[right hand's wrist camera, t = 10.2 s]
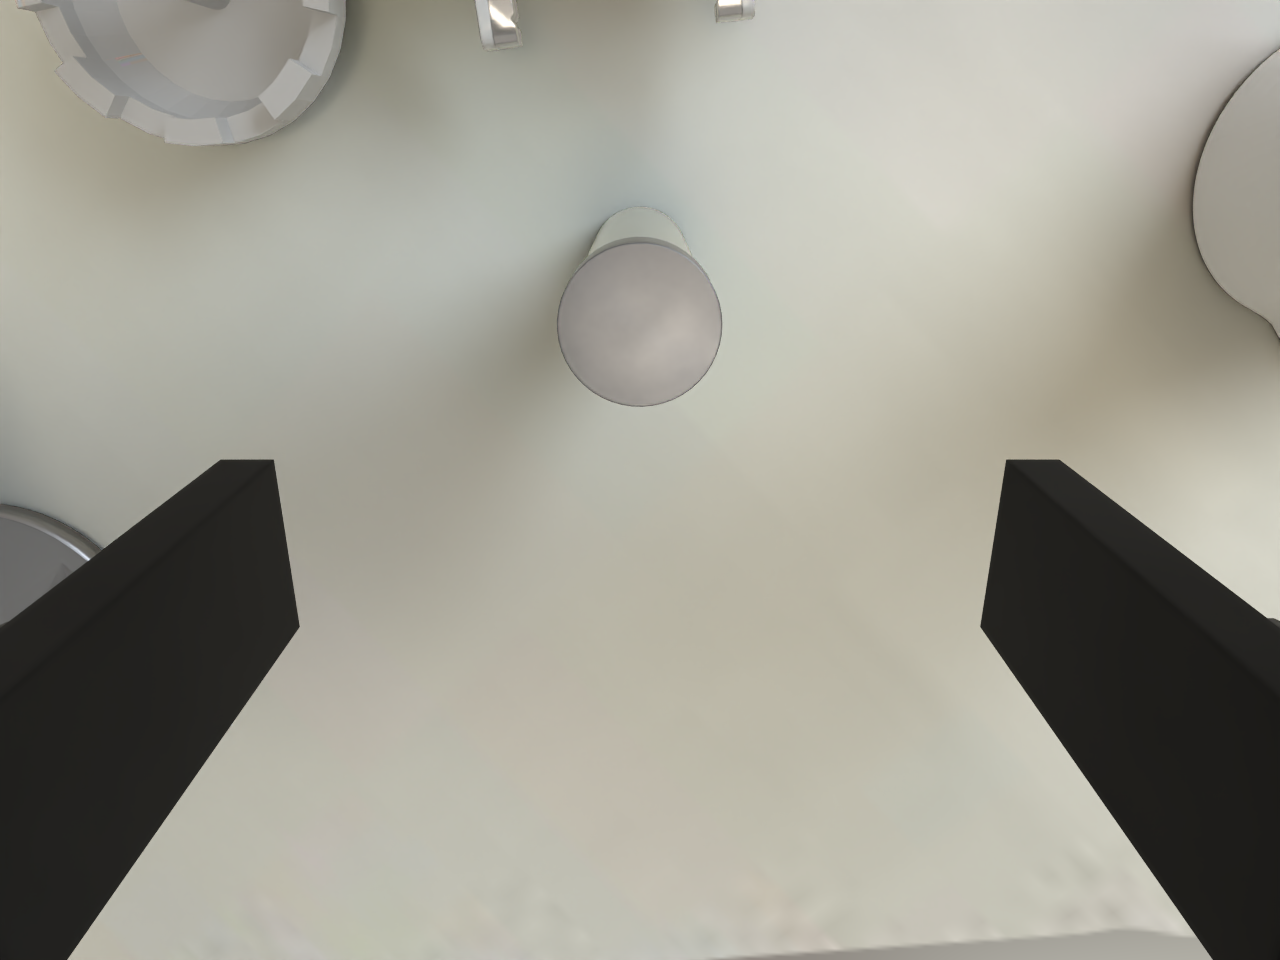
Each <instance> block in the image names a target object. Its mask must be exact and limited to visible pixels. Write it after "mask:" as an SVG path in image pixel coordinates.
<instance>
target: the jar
mask: <svg viewBox="0 0 1280 960" xmlns="http://www.w3.org/2000/svg"><path fill="white" fill-rule="evenodd" d="M628 237H651V238H657V239H660V240H664V241H667V242H669V243H671V244H674V245H676V246H678V247H679V248H681V249H682V250H684V251H686V252H687V253H688V254H689V255H690V256H692V254H691V252H690V250H689V248H688V245H687V243H686V241H685V239H684V236H683V234H682V232H681V230H680V229H679V227H678V226H677V225H676V223H675V222H674V221H673V220H672V219H671V218H669V217H668V216H667V215H665V214H664V213H662V212H660V211H658V210H656V209H652V208H648V207H631V208H627V209H624V210H621V211H619V212H617V213H616V214H614V215H613V216H611V217H610V218H609V219H608V220H607V221H606V222H605V223H604V224H603V225H602V227H601V228H600V230H599V232H598V233H597V235H596V238H595V240H594V242H593V244H592V246H591V249H590V251H589V253H588V255H587V257H588V256H589V255H590V254H591V253H593V252H594V251H595V250H597V249H598V248H600V247H602V246H604V245H605V244H608V243H610V242H613V241H615V240H619V239H623V238H628ZM587 257H586V258H587ZM692 257H693V256H692Z"/></svg>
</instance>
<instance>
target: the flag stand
mask: <svg viewBox="0 0 1280 960" xmlns="http://www.w3.org/2000/svg"><path fill="white" fill-rule="evenodd" d="M15 2H16V5H17V8H20V9H25V10H29V11H34V12H35V13H36V15H37V17H38V19H39V21H40V23H41V25H42V28H43V30H44V32H45V34H46V36H47V38H48V40H49V42H50V44H51V46H52V47H53V49H54V50H55V52H56V53H57V55H58V56H59V57H60V59H61V60H62V62H63V64H61V65H60V66H59V67H58V68H57V69H56V70H54V72H55V73H56V74H57V75H58V76H59V77H60V78H61V79H62V80H63V81H64V82H65V83H66V84H67V86H68V87H69V88H70V89H71V90H72V91H73V92H74V93H75V94H76V95H77V96H78V97H79V98H80V99H82V100H83V101H84V102H86V103H87V104H88V105H89V106H91V107H92V108H93V109H95V110H96V111H97V112H99V113H100V114H101V115H102V116H104V117H105V118H120V119H122V120H124V121H126V122H128V123H130V124H132V125H133V126H135V127H137V128H139V129H141V130H143V131H145V132H147V133H149V134H152V135H155V136H158V137H161V138H164V143H172V144H181V145H189V146H220V145H231V144H242V143H247V142H250V141H254V140H257V139H260V138H263V137H266V136H269V135H272V134H273V133H275V132H277V131H278V130H280V129H282V128H283V127H285V126H287V125H288V124H290V123H291V122H293V121H295V120H296V119H297V118H298V117H299V116H300V115H301V114H302V113H303V112H304V111H305V110H306V109H307V108H308V107H309V106H310V105H311V104H312V103H313V102H314V101H315V99H316V98H317V96H318V95H319V93H320V92H321V90H322V89H323V87H324V86H325V84H326V83H327V81H328V80H329V78H330V76H331V73H332V70H333V68H334V65H335V63H336V60H337V58H338V55H339V52H340V50H341V44H342V38H343V33H344V27H345V22H346V0H15Z"/></svg>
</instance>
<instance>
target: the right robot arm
mask: <svg viewBox="0 0 1280 960" xmlns="http://www.w3.org/2000/svg"><path fill="white" fill-rule="evenodd" d="M299 627H300V626H299V620H298V613H297V607H296V600H295V594H294V587H293V581H292V574H291V568H290V562H289V555H288V549H287V542H286V536H285V529H284V523H283V516H282V510H281V504H280V497H279V491H278V484H277V478H276V471H275V465H274V460H220V461H218V462H217V463H216V464H214V465H213V466H212V467H210V468H209V469H208V470H207V471H205V472H204V473H203V474H201V475H200V476H199V477H197V478H196V479H195V480H193V481H192V482H191V483H189V484H188V485H187V486H186V487H184V488H183V489H182V490H180V491H179V492H178V493H176V494H175V495H174V496H172V497H171V498H170V499H169V500H167V501H166V502H165V503H163V504H162V505H161V506H159V507H158V508H157V509H155V510H154V511H153V512H151V513H150V514H149V515H148V516H146V517H145V518H144V519H142V520H141V521H140V522H138V523H137V524H136V525H134V526H133V527H132V528H131V529H129V530H128V531H127V532H125V533H124V534H123V535H121V536H120V537H119V538H117V539H116V540H115V541H113V542H112V543H111V544H110V545H108V546H107V547H106V548H104V549H103V550H101V549H99V548H98V547H97V546H96V545H95V544H94V543H92V542H91V541H90V540H88V539H87V538H86V537H84V536H83V535H81V534H80V533H78V532H77V531H75V530H74V529H72V528H70V527H69V526H67V525H65V524H63V523H61V522H59V521H57V520H55V519H53V518H50V517H48V516H46V515H43V514H40V513H37V512H34V511H31V510H28V509H24V508H20V507H16V506H10V505H4V504H0V960H67V959H68V958H69V956H70V955H71V953H72V952H73V951H74V949H75V948H76V946H77V945H78V943H79V942H80V941H81V939H82V938H83V936H84V935H85V933H86V932H87V931H88V929H89V928H90V926H91V925H92V923H93V922H94V921H95V919H96V918H97V916H98V915H99V913H100V912H101V910H102V909H103V908H104V906H105V905H106V903H107V902H108V900H109V899H110V898H111V896H112V895H113V893H114V892H115V890H116V889H117V888H118V886H119V885H120V883H121V882H122V880H123V879H124V878H125V876H126V875H127V873H128V872H129V870H130V869H131V868H132V866H133V865H134V863H135V862H136V860H137V859H138V858H139V856H140V855H141V853H142V852H143V850H144V849H145V848H146V846H147V845H148V843H149V842H150V840H151V839H152V837H153V836H154V835H155V833H156V832H157V830H158V829H159V827H160V826H161V825H162V823H163V822H164V820H165V819H166V817H167V816H168V815H169V813H170V812H171V810H172V809H173V807H174V806H175V805H176V803H177V802H178V800H179V799H180V797H181V796H182V795H183V793H184V792H185V790H186V789H187V787H188V786H189V785H190V783H191V782H192V780H193V779H194V777H195V776H196V775H197V773H198V772H199V770H200V769H201V767H202V766H203V764H204V763H205V762H206V760H207V759H208V757H209V756H210V754H211V753H212V752H213V750H214V749H215V747H216V746H217V744H218V743H219V742H220V740H221V739H222V737H223V736H224V734H225V733H226V732H227V730H228V729H229V727H230V726H231V724H232V723H233V722H234V720H235V719H236V717H237V716H238V714H239V713H240V712H241V710H242V709H243V707H244V706H245V704H246V703H247V701H248V700H249V699H250V697H251V696H252V694H253V693H254V691H255V690H256V689H257V687H258V686H259V684H260V683H261V681H262V680H263V679H264V677H265V676H266V674H267V673H268V671H269V670H270V669H271V667H272V666H273V664H274V663H275V661H276V660H277V659H278V657H279V656H280V654H281V653H282V651H283V650H284V649H285V647H286V646H287V644H288V643H289V641H290V640H291V639H292V637H293V636H294V634H295V633H296V631H297V630H298V628H299ZM980 627H981V628H982V630H983V631H984V633H985V634H986V636H987V637H988V638H989V640H990V641H991V643H992V644H993V646H994V647H995V649H996V650H997V651H998V653H999V654H1000V656H1001V657H1002V659H1003V660H1004V661H1005V663H1006V664H1007V666H1008V667H1009V669H1010V670H1011V671H1012V673H1013V674H1014V676H1015V677H1016V679H1017V680H1018V681H1019V683H1020V684H1021V686H1022V687H1023V689H1024V690H1025V691H1026V693H1027V694H1028V696H1029V697H1030V699H1031V700H1032V701H1033V703H1034V704H1035V706H1036V707H1037V709H1038V710H1039V712H1040V713H1041V714H1042V716H1043V717H1044V719H1045V720H1046V722H1047V723H1048V724H1049V726H1050V727H1051V729H1052V730H1053V732H1054V733H1055V734H1056V736H1057V737H1058V739H1059V740H1060V742H1061V743H1062V744H1063V746H1064V747H1065V749H1066V750H1067V752H1068V753H1069V754H1070V756H1071V757H1072V759H1073V760H1074V762H1075V763H1076V764H1077V766H1078V767H1079V769H1080V770H1081V772H1082V773H1083V774H1084V776H1085V777H1086V779H1087V780H1088V782H1089V783H1090V785H1091V786H1092V787H1093V789H1094V790H1095V792H1096V793H1097V795H1098V796H1099V797H1100V799H1101V800H1102V802H1103V803H1104V805H1105V806H1106V807H1107V809H1108V810H1109V812H1110V813H1111V815H1112V816H1113V817H1114V819H1115V820H1116V822H1117V823H1118V825H1119V826H1120V827H1121V829H1122V830H1123V832H1124V833H1125V835H1126V836H1127V837H1128V839H1129V840H1130V842H1131V843H1132V845H1133V846H1134V848H1135V849H1136V850H1137V852H1138V853H1139V855H1140V856H1141V858H1142V859H1143V860H1144V862H1145V863H1146V865H1147V866H1148V868H1149V869H1150V870H1151V872H1152V873H1153V875H1154V876H1155V878H1156V879H1157V880H1158V882H1159V883H1160V885H1161V886H1162V888H1163V889H1164V890H1165V892H1166V893H1167V895H1168V896H1169V898H1170V899H1171V900H1172V902H1173V903H1174V905H1175V906H1176V908H1177V909H1178V910H1179V912H1180V913H1181V915H1182V916H1183V918H1184V919H1185V921H1186V922H1187V923H1188V925H1189V926H1190V928H1191V929H1192V931H1193V932H1194V933H1195V935H1196V936H1197V938H1198V939H1199V941H1200V942H1201V943H1202V945H1203V946H1204V948H1205V949H1206V950H1207V952H1208V953H1209V955H1210V956H1211V958H1212V959H1213V960H1280V621H1278V620H1276V619H1274V618H1266V617H1265V616H1263V615H1262V614H1261V613H1260V612H1258V611H1257V610H1256V609H1254V608H1253V607H1252V606H1250V605H1249V604H1248V603H1246V602H1245V601H1244V600H1243V599H1241V598H1240V597H1239V596H1237V595H1236V594H1235V593H1233V592H1232V591H1231V590H1229V589H1228V588H1227V587H1225V586H1224V585H1223V584H1222V583H1220V582H1219V581H1218V580H1216V579H1215V578H1214V577H1212V576H1211V575H1210V574H1208V573H1207V572H1206V571H1205V570H1203V569H1202V568H1201V567H1199V566H1198V565H1197V564H1195V563H1194V562H1193V561H1191V560H1190V559H1189V558H1187V557H1186V556H1185V555H1184V554H1182V553H1181V552H1180V551H1178V550H1177V549H1176V548H1174V547H1173V546H1172V545H1170V544H1169V543H1168V542H1167V541H1165V540H1164V539H1163V538H1161V537H1160V536H1159V535H1157V534H1156V533H1155V532H1153V531H1152V530H1151V529H1149V528H1148V527H1147V526H1146V525H1144V524H1143V523H1142V522H1140V521H1139V520H1138V519H1136V518H1135V517H1134V516H1132V515H1131V514H1130V513H1129V512H1127V511H1126V510H1125V509H1123V508H1122V507H1121V506H1119V505H1118V504H1117V503H1115V502H1114V501H1113V500H1111V499H1110V498H1109V497H1108V496H1106V495H1105V494H1104V493H1102V492H1101V491H1100V490H1098V489H1097V488H1096V487H1094V486H1093V485H1092V484H1091V483H1089V482H1088V481H1087V480H1085V479H1084V478H1083V477H1081V476H1080V475H1079V474H1077V473H1076V472H1075V471H1074V470H1072V469H1071V468H1070V467H1068V466H1067V465H1066V464H1064V463H1063V462H1062V461H1060V460H1006V465H1005V471H1004V478H1003V484H1002V491H1001V497H1000V504H999V510H998V516H997V523H996V529H995V536H994V542H993V549H992V555H991V562H990V568H989V574H988V581H987V587H986V594H985V600H984V607H983V613H982V620H981V626H980Z"/></svg>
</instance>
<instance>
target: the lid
mask: <svg viewBox="0 0 1280 960" xmlns="http://www.w3.org/2000/svg"><path fill="white" fill-rule="evenodd" d="M557 332H558V339H559V344H560V347H561V351H562V353H563V356H564V358H565V361H566V362H567V364H568V366H569V368H570V369H571V371H572V372H573V373H574V375H575V376H576V377H577V379H578V380H579V381H580V382H581V383H582V384H583V385H584V386H586V387H587V388H588V389H589V390H591V391H592V392H593V393H595V394H597V395H598V396H600V397H602V398H604V399H606V400H609V401H611V402H614V403H618V404H621V405H627V406H640V407H643V406H653V405H658V404H662V403H665V402H668V401H671V400H673V399H675V398H677V397H679V396H681V395H683V394H684V393H686V392H687V391H689V390H690V389H691V388H692V387H694V386H695V385H696V384H697V383H698V382H699V381H700V380H701V379H702V377H703V376H704V375H705V374H706V373H707V371H708V369H709V368H710V366H711V365H712V363H713V361H714V359H715V357H716V354H717V351H718V348H719V345H720V340H721V335H722V314H721V309H720V304H719V300H718V298H717V295H716V292H715V290H714V288H713V286H712V284H711V282H710V280H709V278H708V276H707V274H706V273H705V271H704V270H703V268H702V267H701V266H700V265H699V263H698V262H697V261H696V260H695V259H694V258H693V257H692V256H690V255H689V254H688V253H687V252H686V251H684V250H682V249H681V248H679V247H678V246H676V245H674V244H671V243H669V242H667V241H664V240H660V239H657V238H651V237H628V238H623V239H619V240H615V241H613V242H610V243H608V244H605V245H604V246H602V247H600V248H598V249H597V250H595V251H594V252H593V253H591V254H590V255H589V256H588V257H587V258H586V259H585V260H584V261H583V262H582V263H581V264H580V265H579V266H578V268H577V269H576V270H575V272H574V273H573V275H572V277H571V278H570V280H569V282H568V284H567V286H566V288H565V291H564V293H563V295H562V298H561V301H560V305H559V309H558V317H557Z"/></svg>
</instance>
